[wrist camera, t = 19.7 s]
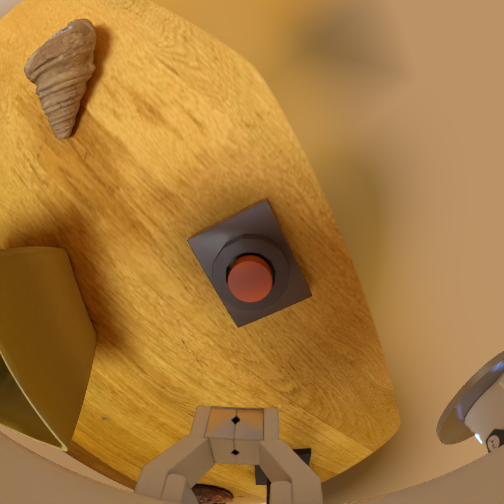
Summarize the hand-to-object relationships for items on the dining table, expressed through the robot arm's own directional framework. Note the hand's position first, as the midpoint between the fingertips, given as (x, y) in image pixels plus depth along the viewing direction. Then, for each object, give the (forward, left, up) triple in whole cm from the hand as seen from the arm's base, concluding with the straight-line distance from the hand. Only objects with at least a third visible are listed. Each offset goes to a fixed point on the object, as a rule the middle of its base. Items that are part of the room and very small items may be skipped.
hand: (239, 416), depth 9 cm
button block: (0, 0, -19) cm, 19 cm away
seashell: (+19, -22, -20) cm, 35 cm away
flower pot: (+27, +5, -20) cm, 34 cm away
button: (0, 0, -16) cm, 16 cm away
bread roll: (+11, +53, -20) cm, 58 cm away
